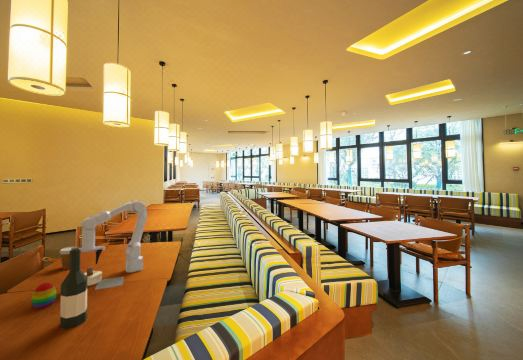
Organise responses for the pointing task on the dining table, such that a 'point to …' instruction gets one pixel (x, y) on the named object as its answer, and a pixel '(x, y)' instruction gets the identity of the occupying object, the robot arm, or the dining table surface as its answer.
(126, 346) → the dining table surface
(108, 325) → the dining table surface
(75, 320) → the wine bottle
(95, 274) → the lid
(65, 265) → the disposable coffee cup
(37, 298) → the decorative egg
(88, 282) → the bowl
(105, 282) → the mat
